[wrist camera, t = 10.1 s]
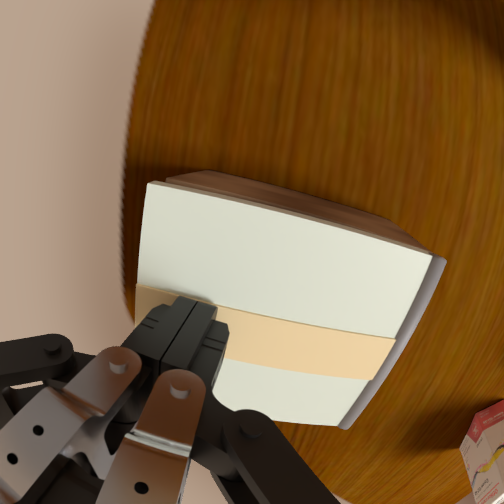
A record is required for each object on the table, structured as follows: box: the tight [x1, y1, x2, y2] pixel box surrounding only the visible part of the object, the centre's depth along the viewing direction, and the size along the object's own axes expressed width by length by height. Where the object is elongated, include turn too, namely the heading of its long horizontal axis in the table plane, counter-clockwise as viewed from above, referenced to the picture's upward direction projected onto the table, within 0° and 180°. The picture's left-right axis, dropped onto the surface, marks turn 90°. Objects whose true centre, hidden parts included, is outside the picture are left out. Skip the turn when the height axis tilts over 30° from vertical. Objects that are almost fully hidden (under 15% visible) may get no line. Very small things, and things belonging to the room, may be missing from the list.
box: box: [165, 170, 431, 252], centre depth 15 cm, size 11×10×6 cm
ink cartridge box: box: [460, 400, 504, 504], centre depth 14 cm, size 9×5×15 cm, turn 16°
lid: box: [135, 181, 447, 429], centre depth 11 cm, size 11×10×1 cm
